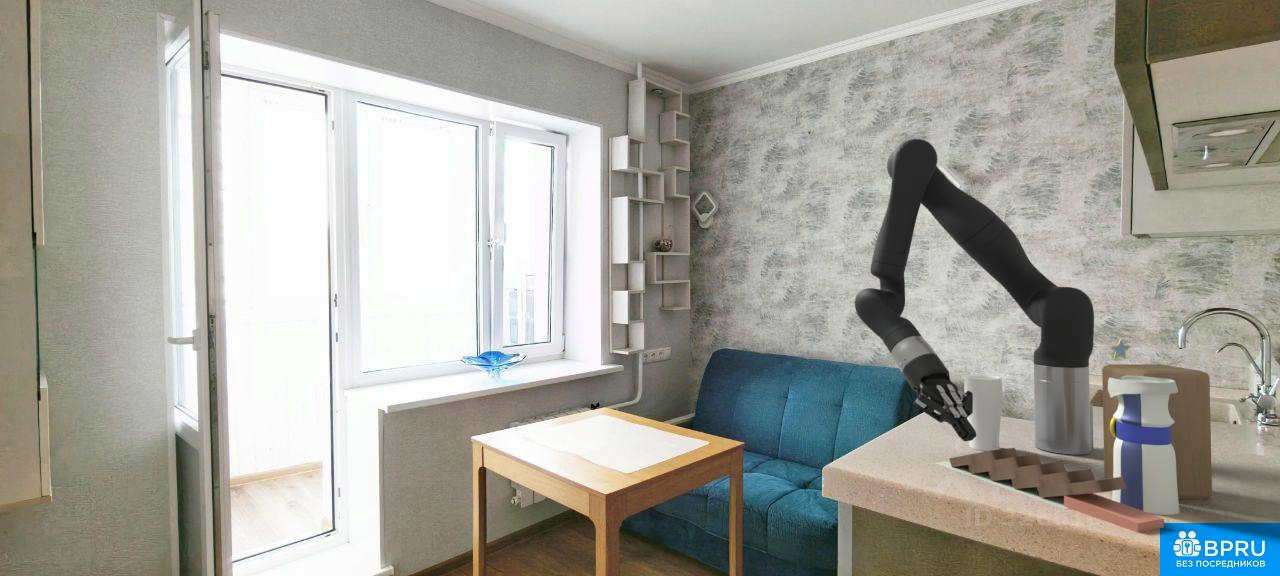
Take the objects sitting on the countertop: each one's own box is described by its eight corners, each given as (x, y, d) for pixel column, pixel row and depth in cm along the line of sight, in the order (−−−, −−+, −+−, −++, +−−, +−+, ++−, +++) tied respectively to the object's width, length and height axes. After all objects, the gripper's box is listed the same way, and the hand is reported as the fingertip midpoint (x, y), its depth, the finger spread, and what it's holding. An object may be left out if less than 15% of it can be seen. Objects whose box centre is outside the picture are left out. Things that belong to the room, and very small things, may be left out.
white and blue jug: (1095, 503, 90) (1092, 340, 91) (1127, 494, 94) (1124, 337, 94) (1160, 522, 83) (1156, 344, 83) (1192, 511, 86) (1189, 341, 87)
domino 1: (970, 455, 110) (1014, 447, 101) (973, 464, 110) (1018, 457, 101) (949, 458, 109) (992, 450, 100) (951, 467, 108) (995, 460, 99)
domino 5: (1060, 483, 94) (1122, 476, 85) (1064, 493, 93) (1127, 488, 84) (1036, 486, 92) (1097, 480, 84) (1040, 497, 92) (1102, 492, 83)
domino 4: (1034, 475, 98) (1090, 468, 89) (1037, 485, 97) (1095, 479, 89) (1010, 478, 97) (1066, 472, 88) (1014, 489, 96) (1070, 483, 87)
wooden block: (1164, 481, 100) (1162, 363, 100) (1215, 502, 90) (1213, 371, 90) (1101, 480, 101) (1099, 363, 101) (1145, 500, 91) (1142, 371, 91)
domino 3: (1010, 468, 102) (1062, 461, 93) (1014, 478, 102) (1066, 471, 93) (988, 471, 101) (1039, 464, 92) (991, 481, 100) (1042, 474, 91)
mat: (963, 461, 113) (963, 459, 113) (1099, 506, 89) (1099, 503, 89) (934, 465, 111) (934, 463, 111) (1064, 511, 87) (1064, 509, 87)
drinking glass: (957, 447, 123) (956, 375, 123) (984, 444, 125) (983, 373, 125) (983, 455, 117) (982, 380, 117) (1011, 453, 118) (1010, 378, 119)
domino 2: (989, 461, 106) (1037, 454, 97) (993, 470, 106) (1041, 463, 97) (968, 464, 105) (1014, 456, 96) (971, 473, 104) (1018, 467, 95)
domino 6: (1088, 491, 90) (1163, 518, 80) (1088, 502, 90) (1163, 530, 80) (1064, 495, 88) (1137, 523, 79) (1063, 506, 88) (1137, 534, 79)
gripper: (901, 353, 114) (953, 430, 103) (955, 350, 118) (1011, 424, 107) (883, 377, 119) (930, 453, 108) (935, 373, 123) (986, 446, 112)
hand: (970, 438), depth 107 cm, fingers closed
